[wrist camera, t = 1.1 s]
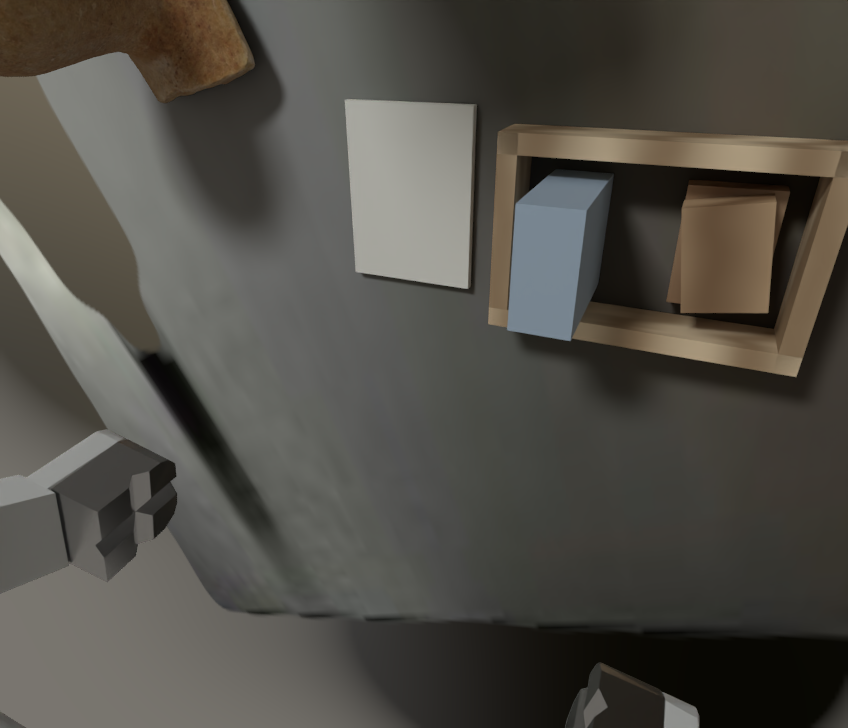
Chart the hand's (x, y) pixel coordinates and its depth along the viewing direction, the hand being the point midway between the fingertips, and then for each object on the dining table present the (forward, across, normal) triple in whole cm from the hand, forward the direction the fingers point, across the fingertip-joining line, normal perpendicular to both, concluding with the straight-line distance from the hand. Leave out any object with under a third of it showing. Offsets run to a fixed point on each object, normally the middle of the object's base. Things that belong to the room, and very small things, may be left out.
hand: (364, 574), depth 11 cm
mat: (+32, +12, +4) cm, 35 cm away
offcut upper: (+30, -8, +1) cm, 31 cm away
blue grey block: (+32, +1, +3) cm, 32 cm away
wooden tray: (+32, -4, +2) cm, 32 cm away
